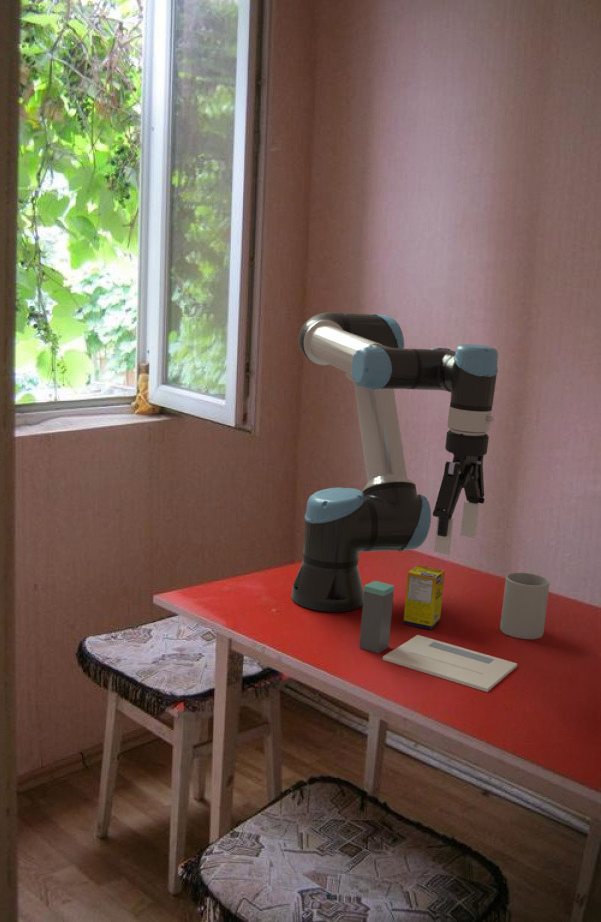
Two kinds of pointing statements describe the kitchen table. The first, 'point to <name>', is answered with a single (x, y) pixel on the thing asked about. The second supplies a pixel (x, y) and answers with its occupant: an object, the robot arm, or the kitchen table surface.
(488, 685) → the paper pad
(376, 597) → the grey teal-topped block
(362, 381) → the robot arm
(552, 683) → the kitchen table surface
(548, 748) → the kitchen table surface
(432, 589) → the supplement box
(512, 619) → the mug
